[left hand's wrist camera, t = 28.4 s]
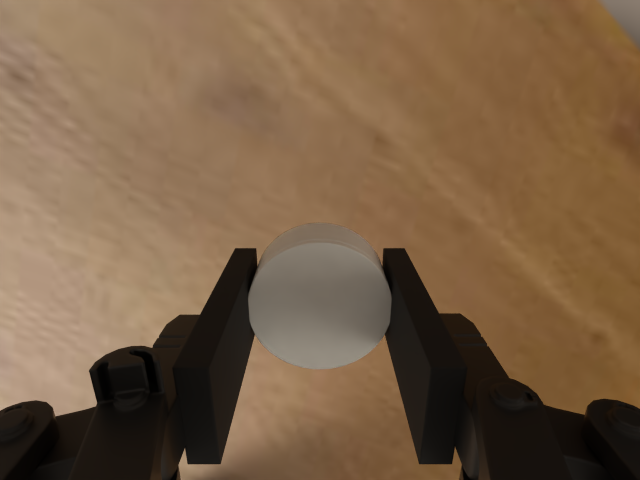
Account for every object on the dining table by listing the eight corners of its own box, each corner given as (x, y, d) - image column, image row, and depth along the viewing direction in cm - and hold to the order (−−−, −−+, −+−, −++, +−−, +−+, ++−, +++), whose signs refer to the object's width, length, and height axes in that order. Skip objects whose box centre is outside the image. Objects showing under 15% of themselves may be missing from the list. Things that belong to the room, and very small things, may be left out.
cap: (244, 232, 14) (232, 254, 12) (376, 213, 14) (385, 232, 12) (269, 342, 16) (262, 377, 14) (388, 327, 15) (398, 360, 13)
